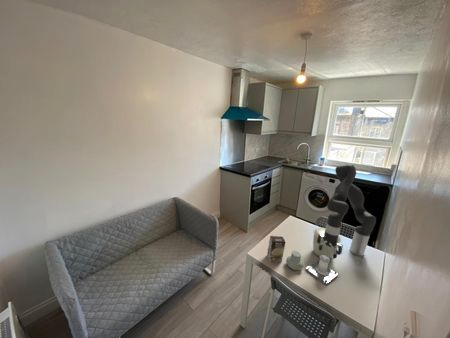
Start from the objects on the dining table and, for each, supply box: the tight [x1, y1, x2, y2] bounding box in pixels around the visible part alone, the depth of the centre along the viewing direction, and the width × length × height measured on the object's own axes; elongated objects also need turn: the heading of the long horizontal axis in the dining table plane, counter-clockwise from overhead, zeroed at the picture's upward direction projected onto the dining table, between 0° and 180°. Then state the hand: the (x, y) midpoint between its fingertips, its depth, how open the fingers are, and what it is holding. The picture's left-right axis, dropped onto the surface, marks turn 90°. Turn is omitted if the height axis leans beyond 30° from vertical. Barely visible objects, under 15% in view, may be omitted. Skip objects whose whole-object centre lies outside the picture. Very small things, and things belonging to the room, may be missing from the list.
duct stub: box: [318, 255, 331, 273], centre depth 123 cm, size 6×6×9 cm
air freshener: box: [285, 250, 304, 271], centre depth 127 cm, size 11×8×10 cm
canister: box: [312, 227, 342, 260], centre depth 140 cm, size 18×18×21 cm
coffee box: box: [266, 235, 286, 263], centre depth 132 cm, size 9×6×16 cm
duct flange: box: [305, 260, 339, 286], centre depth 124 cm, size 14×14×2 cm
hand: (327, 254), depth 120 cm, fingers open, 8 cm apart
